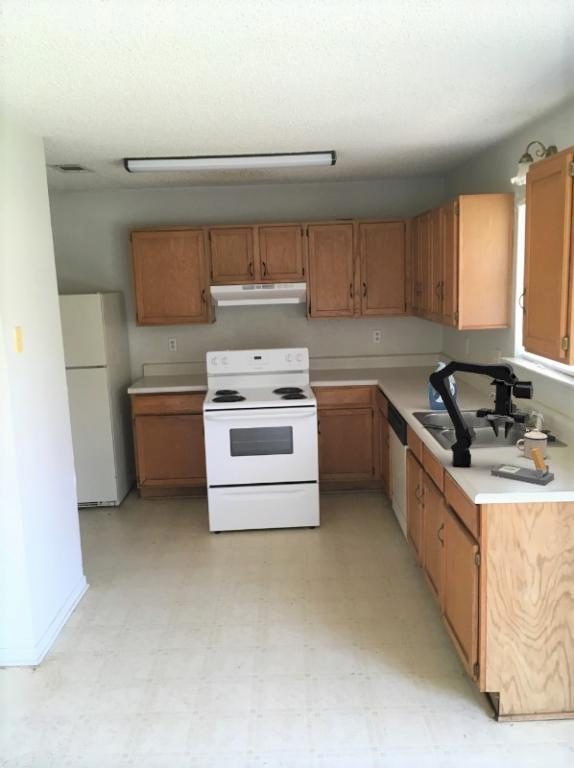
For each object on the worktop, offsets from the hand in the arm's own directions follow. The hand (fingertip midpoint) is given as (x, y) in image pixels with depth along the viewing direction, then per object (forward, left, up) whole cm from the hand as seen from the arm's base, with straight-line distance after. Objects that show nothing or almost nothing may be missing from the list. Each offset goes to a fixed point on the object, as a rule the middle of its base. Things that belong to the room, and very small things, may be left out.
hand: (501, 437), depth 239 cm
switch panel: (+6, -8, -13) cm, 16 cm away
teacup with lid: (+16, +20, -13) cm, 29 cm away
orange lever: (+13, -12, -11) cm, 20 cm away
